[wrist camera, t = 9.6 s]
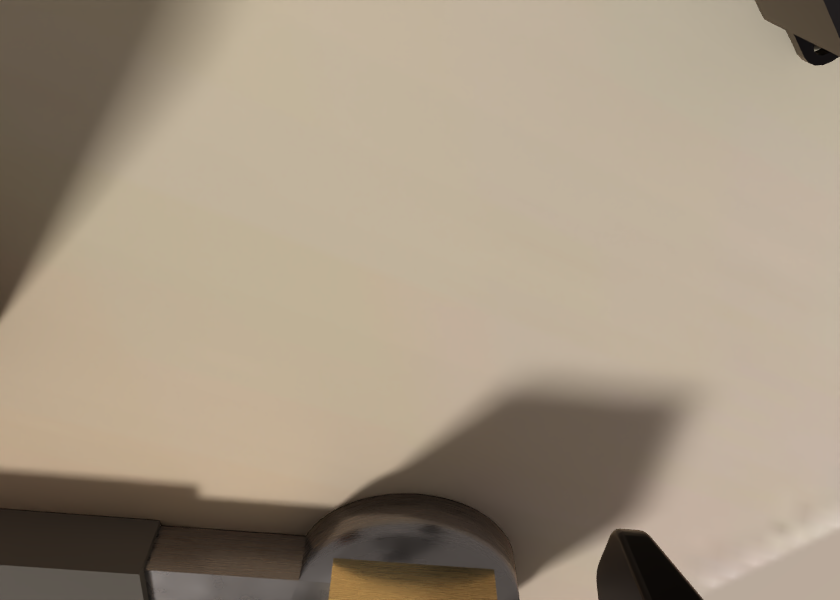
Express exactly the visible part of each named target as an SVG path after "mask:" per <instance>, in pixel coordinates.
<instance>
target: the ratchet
mask: <svg viewBox="0 0 840 600" xmlns="http://www.w3.org/2000/svg"><path fill="white" fill-rule="evenodd" d="M333 558H339V559H353V560H367V561H381V562H395V563H409V564H424V565H438V566H452V567H466V568H480V569H494V573H495V583H496V592H497V600H519V592H518V585H517V577H516V570H515V563H514V556H513V551H512V547H511V545H510V543H509V541H508V539H507V537H506V536H505V534H504V533H503V531H502V530H501V529H500V528H499V527H498V526H497V525H496V524H495V523H494V522H493V521H491V520H490V519H489V518H487V517H486V516H485V515H483V514H481V513H480V512H478V511H476V510H475V509H472V508H470V507H468V506H466V505H463V504H461V503H458V502H455V501H451V500H448V499H444V498H439V497H435V496H427V495H419V494H395V495H384V496H377V497H372V498H367V499H363V500H359V501H356V502H354V503H351V504H348V505H345V506H343V507H341V508H339V509H337V510H335V511H333V512H332V513H330V514H329V515H327V516H325V517H324V518H323V519H322V520H320V521H319V522H318V523H317V524H316V525H315V526H314V527H313V528H312V529H311V530H310V531H309V533H308V534H307V536H294V535H280V534H266V533H253V532H239V531H226V530H212V529H198V528H185V527H171V526H160V521H156V520H142V519H129V518H115V517H102V516H88V515H75V514H61V513H48V512H34V511H21V510H7V509H0V600H329V591H330V583H331V574H332V566H333Z"/></svg>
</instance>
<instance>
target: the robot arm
mask: <svg viewBox="0 0 840 600" xmlns="http://www.w3.org/2000/svg"><path fill="white" fill-rule="evenodd" d="M755 1H756V4H757V6H758V8H759V10H760V12H761V14H762V16H763V18H764V19H765V20H767V21H769V22H771V23H773V24H775V25H777V26H779V27H781V28H783V29H785V30H786V31H787V34H788V36H789V38H790V40H791V42H792V44H793V46H794V49H795V51H796V53H797V54H798V56H799V57H800V58H801V59H803V60H804V61H806V62H808V63H810V64H813V65H824V64H827V63H829V62H831V61H833V60H835V59H836V58H838V57H840V0H755ZM814 44H815V45H817V46H819V47H821V49H820V50H817V51H814ZM597 590H598V599H599V600H703V599H702V597H701V596H700V595H699V594H698V593H697V591H696V590H695V589H694V588H693V587H692V585H691V584H690V583H689V582H688V581H687V580H686V578H685V577H684V576H683V575H682V574H681V572H680V571H679V570H678V569H677V568H676V566H675V565H674V564H673V563H672V562H671V560H670V559H669V558H668V557H667V556H666V555H665V553H664V552H663V551H662V550H661V549H660V547H659V546H658V545H657V544H656V543H655V541H654V540H653V539H652V538H651V537H650V536H649V535H648V534H647V533H645V532H644V531H640V530H629V529H616V530H614V531H613V532H612V534H611V535H610V538H609V540H608V543H607V545H606V547H605V550H604V552H603V555H602V557H601V560H600V562H599V565H598V569H597Z"/></svg>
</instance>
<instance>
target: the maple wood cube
mask: <svg viewBox="0 0 840 600" xmlns="http://www.w3.org/2000/svg"><path fill="white" fill-rule="evenodd" d="M329 600H497V592H496V583H495V573H494V569H480V568H466V567H452V566H438V565H424V564H409V563H395V562H381V561H367V560H353V559H339V558H333V566H332V574H331V583H330V591H329Z"/></svg>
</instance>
